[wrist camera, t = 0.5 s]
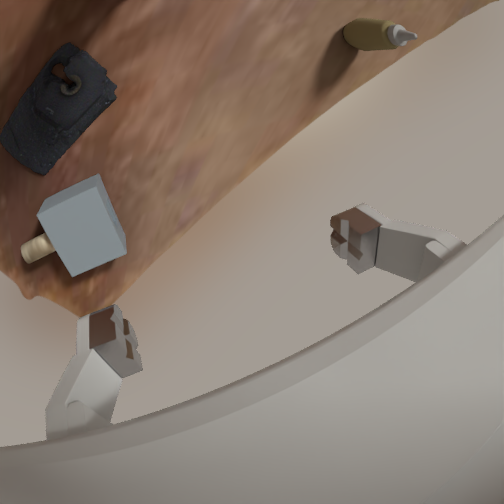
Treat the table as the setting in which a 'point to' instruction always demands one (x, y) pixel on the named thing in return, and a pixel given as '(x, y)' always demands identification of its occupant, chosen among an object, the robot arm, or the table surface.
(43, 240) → the dowel peg
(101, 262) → the socket block
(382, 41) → the squeeze bottle
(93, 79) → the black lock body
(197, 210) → the table surface
